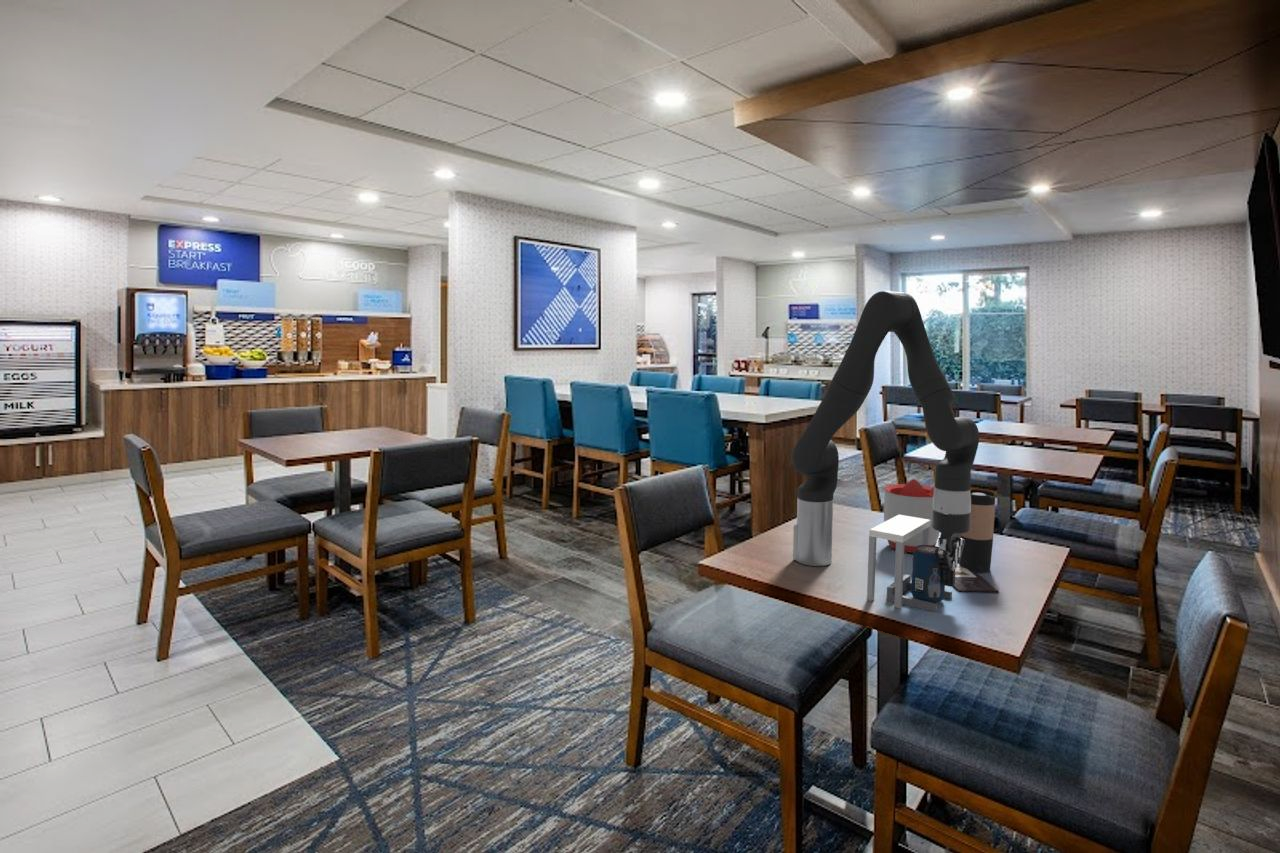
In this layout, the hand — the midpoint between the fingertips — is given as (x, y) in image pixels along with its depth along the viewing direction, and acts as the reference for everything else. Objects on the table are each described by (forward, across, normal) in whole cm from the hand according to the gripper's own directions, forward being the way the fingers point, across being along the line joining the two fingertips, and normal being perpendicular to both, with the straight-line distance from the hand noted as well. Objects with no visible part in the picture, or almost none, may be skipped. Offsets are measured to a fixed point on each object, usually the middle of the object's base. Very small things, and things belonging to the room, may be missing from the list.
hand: (948, 585), depth 146 cm
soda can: (+5, -1, -5) cm, 7 cm away
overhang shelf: (+5, 0, -8) cm, 9 cm away
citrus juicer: (+5, -37, -21) cm, 43 cm away
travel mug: (+5, -30, -3) cm, 31 cm away
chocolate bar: (+5, -20, -3) cm, 21 cm away
